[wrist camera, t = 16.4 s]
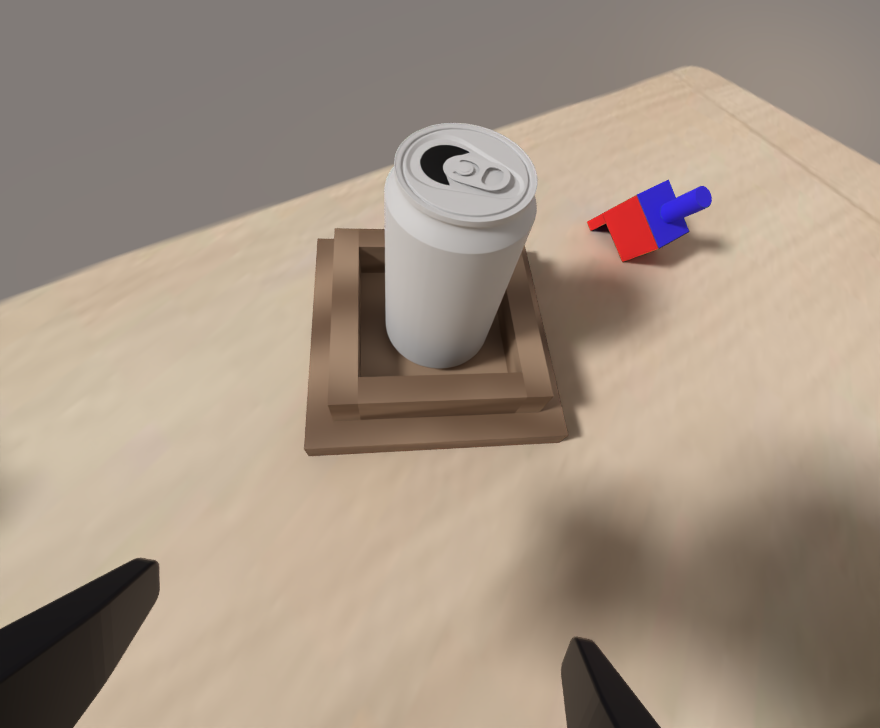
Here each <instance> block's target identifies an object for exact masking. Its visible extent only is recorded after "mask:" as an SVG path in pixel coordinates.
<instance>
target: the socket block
mask: <svg viewBox="0 0 880 728" xmlns="http://www.w3.org/2000/svg"><path fill="white" fill-rule="evenodd" d="M567 436H568V432H567V427H566V423H565V418H564V414H563V410H562V405H561V401H560V397H559V392H558V388H557V384H556V379H555V375H554V371H553V366H552V362H551V358H550V353H549V349H548V345H547V340H546V336H545V332H544V327H543V323H542V319H541V314H540V310H539V306H538V301H537V297H536V293H535V288H534V284H533V279H532V275H531V271H530V266H529V262H528V258H527V253H526V249H525V245H524V247H523V250H522V252H521V255H520V257H519V259H518V262H517V264H516V267H515V269H514V271H513V274H512V276H511V279H510V281H509V284H508V286H507V288H506V291H505V293H504V296H503V298H502V301H501V303H500V305H499V308H498V310H497V313H496V315H495V317H494V320H493V322H492V325H491V327H490V330H489V332H488V334H487V337H486V339H485V342H484V344H483V346H482V347H481V349H480V350H479V351H478V353H477V354H476V355H475V356H474V357H472V358H471V359H470V360H468V361H466V362H465V363H463V364H460V365H458V366H455V367H450V368H441V369H438V368H429V367H424V366H421V365H418V364H415V363H413V362H412V361H410V360H408V359H407V358H405V357H404V356H403V355H401V354H400V353H399V352H398V351H397V349H396V348H395V347H394V346H393V344H392V342H391V341H390V339H389V336H388V334H387V329H386V306H385V229H340V228H335V234H334V239H318V241H317V257H316V272H315V288H314V303H313V319H312V334H311V350H310V365H309V381H308V396H307V412H306V427H305V443H304V450H305V451H306V453H307V454H308V455H309V456H321V455H339V454H358V453H376V452H395V451H413V450H431V449H450V448H468V447H487V446H505V445H523V444H542V443H559V442H560V441H562V440H563V439H564V438H566V437H567Z"/></svg>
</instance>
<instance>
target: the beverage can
mask: <svg viewBox="0 0 880 728" xmlns="http://www.w3.org/2000/svg"><path fill="white" fill-rule="evenodd" d="M536 189H537V173H536V170H535V167H534V165H533V163H532V161H531V160H530V158H529V157H528V155H527V154H526V153H525V152H524V151H523V150H522V149H521V148H520V147H519V146H518V145H517V144H516V143H514V142H513V141H511V140H510V139H508V138H507V137H505V136H503V135H501V134H499V133H497V132H495V131H493V130H490V129H487V128H484V127H480V126H476V125H471V124H463V123H443V124H437V125H432V126H429V127H426V128H423V129H421V130H418V131H417V132H414V133H413V134H411V135H410V136H409V137H407V138H406V139H405V140H404V141H403V142H402V143H401V145H400V146H399V148H398V150H397V152H396V155H395V159H394V166H393V168H392V169H391V171H390V172H389V174H388V176H387V179H386V182H385V188H384V203H385V306H386V329H387V334H388V336H389V339H390V341H391V342H392V344H393V346H394V347H395V348H396V349H397V351H398V352H399V353H400V354H401V355H403V356H404V357H405V358H407V359H408V360H410V361H412V362H413V363H415V364H418V365H421V366H424V367H429V368H438V369H441V368H450V367H455V366H458V365H460V364H463V363H465V362H466V361H468V360H470V359H471V358H472V357H474V356H475V355H476V354H477V353H478V351H479V350H480V349H481V347H482V346H483V344H484V342H485V339H486V337H487V334H488V332H489V330H490V327H491V325H492V322H493V320H494V317H495V315H496V313H497V310H498V308H499V305H500V303H501V301H502V298H503V296H504V293H505V291H506V288H507V286H508V284H509V281H510V279H511V276H512V274H513V271H514V269H515V267H516V264H517V262H518V259H519V257H520V255H521V252H522V250H523V247H524V245H525V242H526V240H527V238H528V235H529V233H530V230H531V228H532V225H533V223H534V220H535V217H536V209H537V205H536V199H535V192H536Z"/></svg>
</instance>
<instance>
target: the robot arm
mask: <svg viewBox="0 0 880 728" xmlns="http://www.w3.org/2000/svg"><path fill="white" fill-rule="evenodd" d="M159 590H160V582H159V563H158V562H157V561H156V560H151V559H146V558H136V559H133V560H131V561H129V562H127V563H125V564H124V565H122V566H120V567H118V568H116V569H114V570H112V571H110V572H108V573H106V574H104V575H103V576H101V577H99V578H97V579H95V580H93V581H91V582H89V583H87V584H85V585H83V586H81V587H80V588H78V589H76V590H74V591H72V592H70V593H68V594H66V595H64V596H62V597H60V598H58V599H57V600H55V601H53V602H51V603H49V604H47V605H45V606H43V607H41V608H39V609H37V610H36V611H34V612H32V613H30V614H28V615H26V616H24V617H22V618H20V619H18V620H16V621H14V622H13V623H11V624H9V625H7V626H5V627H3V628H1V629H0V728H73V727H74V726H75V724H76V723H77V722H78V720H79V719H80V718H81V716H82V715H83V714H84V712H85V711H86V709H87V708H88V707H89V705H90V704H91V703H92V701H93V700H94V699H95V697H96V696H97V694H98V693H99V692H100V690H101V689H102V687H103V686H104V684H105V683H106V682H107V680H108V678H109V677H110V675H111V674H112V672H113V671H114V669H115V667H116V666H117V664H118V663H119V661H120V659H121V658H122V656H123V654H124V653H125V651H126V650H127V648H128V646H129V645H130V643H131V641H132V640H133V638H134V637H135V635H136V633H137V632H138V630H139V628H140V627H141V625H142V623H143V622H144V620H145V619H146V617H147V615H148V614H149V612H150V610H151V609H152V607H153V606H154V604H155V602H156V600H157V598H158V595H159ZM561 677H562V686H563V695H564V704H565V712H566V721H567V728H661V727H660V726H659V725H658V723H657V722H656V721H655V719H654V718H653V717H652V716H651V714H650V713H649V712H648V710H647V709H646V708H645V707H644V705H643V704H642V703H641V701H640V700H639V699H638V698H637V696H636V695H635V694H634V692H633V691H632V690H631V689H630V687H629V686H628V685H627V683H626V682H625V681H624V680H623V678H622V677H621V676H620V674H619V673H618V672H617V671H616V669H615V668H614V667H613V665H612V664H611V663H610V662H609V660H608V659H607V658H606V656H605V655H604V654H603V653H602V651H601V650H600V649H599V647H598V646H597V645H596V644H595V642H593V641H592V640H590V639H586V638H581V637H573V638H572V639H571V641H570V644H569V646H568V649H567V652H566V654H565V657H564V659H563V662H562V667H561Z"/></svg>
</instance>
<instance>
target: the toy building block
mask: <svg viewBox="0 0 880 728" xmlns="http://www.w3.org/2000/svg"><path fill="white" fill-rule="evenodd" d="M711 201H712V197H711V193H710V191H709V190H708V189H707V188H706V187H704V186H700V187H698V188H696V189H694V190H692V191H689V192H687V193H685V194H683V195H681V196H679V197H677V198H676V197H675V194H674V192H673V189H672V187H671V184H670V182H669V180H667V181H665V182H662V183H660V184H658V185H656V186H654V187H652V188H650V189H648V190H646V191H644V192H642V193H639V194H637V195H635V196H634V197H632V198H630V199H628V200H626V201H624V202H623V203H621V204H619V205H617V206H615V207H613V208H612V209H610V210H608V211H606V212H604V213H602V214H601V215H599V216H597V217H595V218H593V219H591V220H590V221H588V222H587V224H588V226H589V228H590V231H592V230H594V229H596V228H598V227H600V226H602V225H604V224H606V225H607V227H608V230H609V232H610V234H611V237H612V239H613V241H614V244H615V246H616V248H617V251H618V253H619V255H620V258H621V260H622V262H624V261H627V260H630V259H633V258H635V257H638V256H641V255H643V254H646V253H649V252H652V251H654V250H657V249H659V248H661V247H663V246H665V245H667V244H668V243H670V242H672V241H674V240H676V239H677V238H679V237H681V236H683V235H684V234H686V233H688V232H689V229H688V227H687V224H686V222H685V219H684V217H687V216H689V215H691V214H694V213H696V212H698V211H701V210H703V209H705V208H708V207H709V206H710V205H711Z"/></svg>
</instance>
